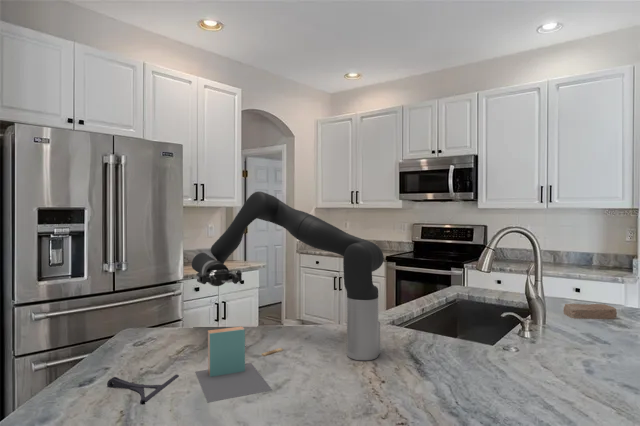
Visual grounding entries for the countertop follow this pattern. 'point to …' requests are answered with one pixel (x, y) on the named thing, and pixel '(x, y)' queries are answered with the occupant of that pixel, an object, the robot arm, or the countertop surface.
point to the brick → (590, 311)
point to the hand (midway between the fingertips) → (225, 281)
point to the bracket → (139, 387)
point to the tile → (226, 351)
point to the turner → (272, 352)
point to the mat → (232, 384)
